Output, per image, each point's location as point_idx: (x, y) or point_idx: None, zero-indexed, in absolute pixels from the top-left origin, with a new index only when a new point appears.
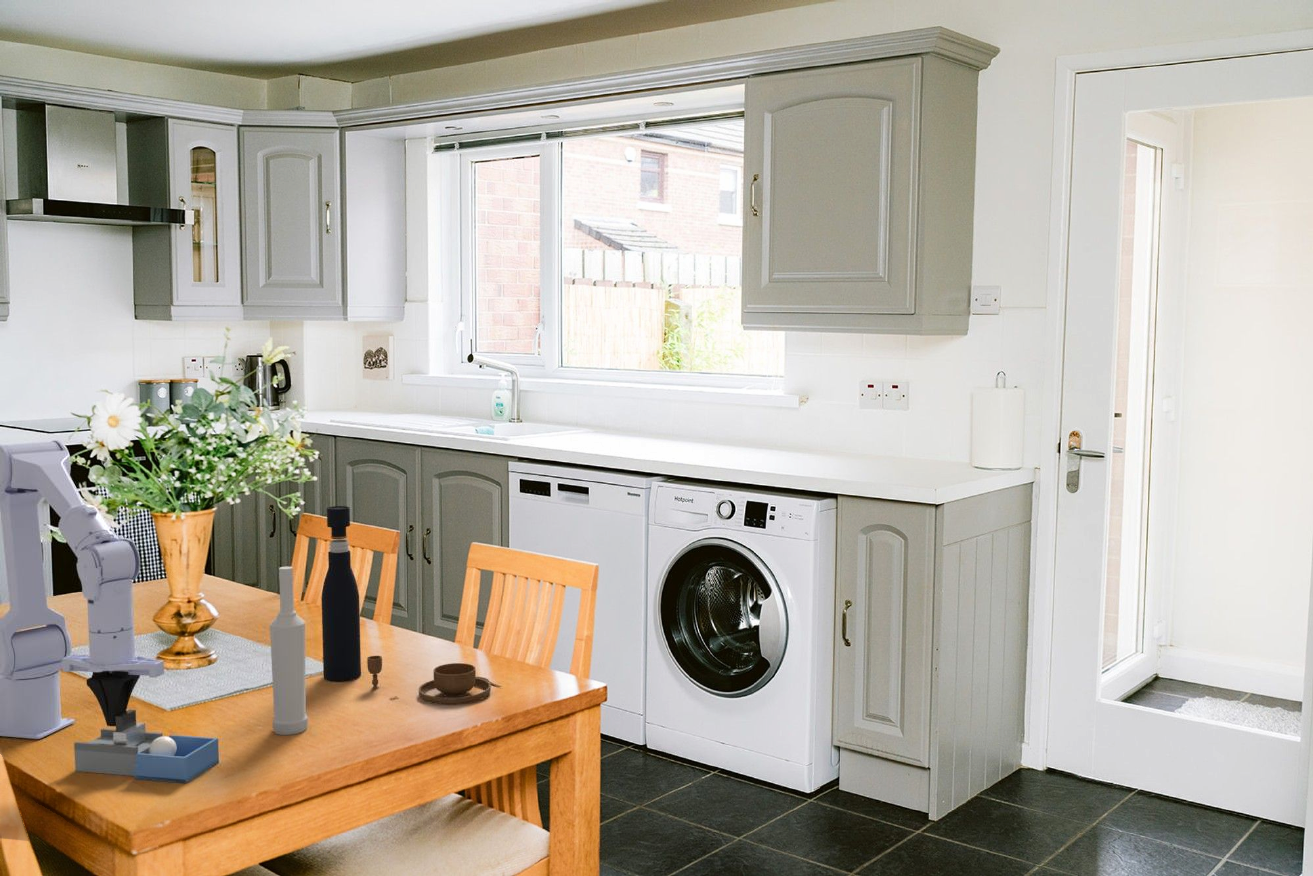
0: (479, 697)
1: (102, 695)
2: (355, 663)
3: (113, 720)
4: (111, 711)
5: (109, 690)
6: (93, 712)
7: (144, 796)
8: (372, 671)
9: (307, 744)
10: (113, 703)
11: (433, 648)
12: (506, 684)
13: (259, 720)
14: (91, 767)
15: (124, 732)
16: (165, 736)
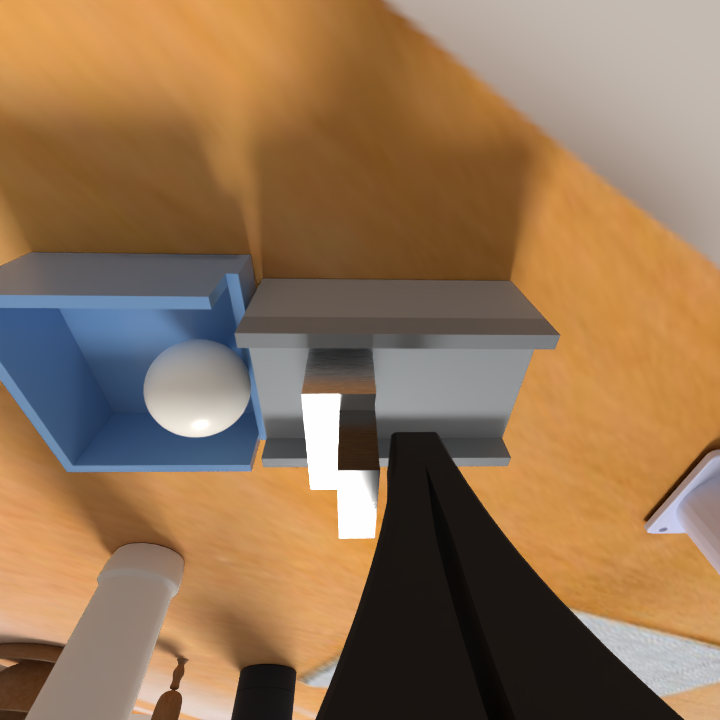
0: None
1: (491, 610)
2: (234, 704)
3: (396, 452)
4: (407, 495)
5: (414, 680)
6: (617, 560)
7: (40, 76)
8: (166, 697)
9: (32, 518)
10: (389, 548)
11: (229, 715)
12: None
13: (253, 576)
14: (448, 287)
15: (315, 398)
16: (181, 431)
